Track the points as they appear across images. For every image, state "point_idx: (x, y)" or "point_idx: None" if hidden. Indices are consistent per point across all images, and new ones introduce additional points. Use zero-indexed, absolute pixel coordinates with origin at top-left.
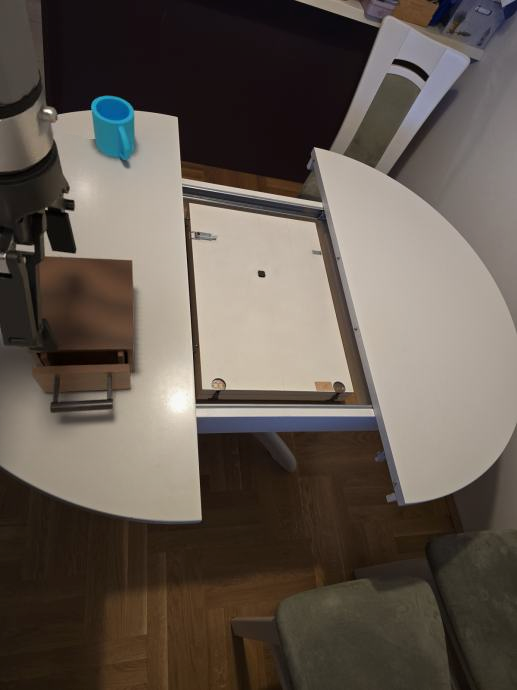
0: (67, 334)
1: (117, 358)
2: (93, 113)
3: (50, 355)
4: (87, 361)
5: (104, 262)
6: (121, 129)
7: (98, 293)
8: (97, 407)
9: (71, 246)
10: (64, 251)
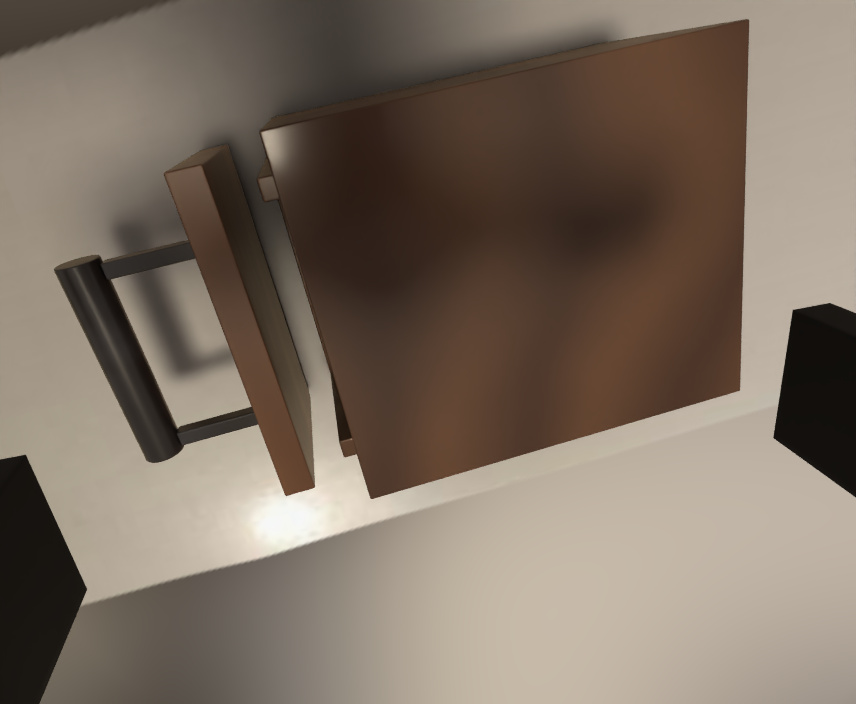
0: (376, 268)
1: None
2: None
3: None
4: None
5: (725, 301)
6: None
7: (583, 322)
8: (129, 418)
9: (832, 463)
10: (790, 387)
